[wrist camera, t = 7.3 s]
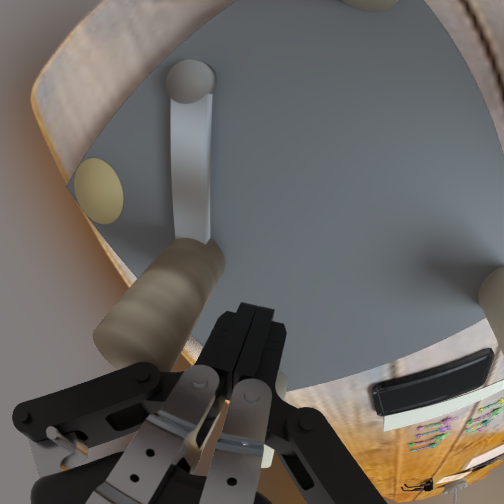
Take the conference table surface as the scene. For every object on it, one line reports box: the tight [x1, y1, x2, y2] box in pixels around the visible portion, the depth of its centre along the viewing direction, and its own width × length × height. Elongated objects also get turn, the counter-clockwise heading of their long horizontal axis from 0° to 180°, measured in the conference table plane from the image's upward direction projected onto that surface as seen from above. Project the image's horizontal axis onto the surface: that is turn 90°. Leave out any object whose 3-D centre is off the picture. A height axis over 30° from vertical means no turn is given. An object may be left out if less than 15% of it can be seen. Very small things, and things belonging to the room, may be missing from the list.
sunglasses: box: [401, 479, 433, 491], centre depth 51 cm, size 10×12×5 cm
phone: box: [373, 348, 494, 416], centre depth 23 cm, size 8×1×15 cm
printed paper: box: [384, 380, 504, 452], centre depth 28 cm, size 30×30×2 cm
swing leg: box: [93, 59, 225, 372], centre depth 10 cm, size 13×4×8 cm, turn 176°
